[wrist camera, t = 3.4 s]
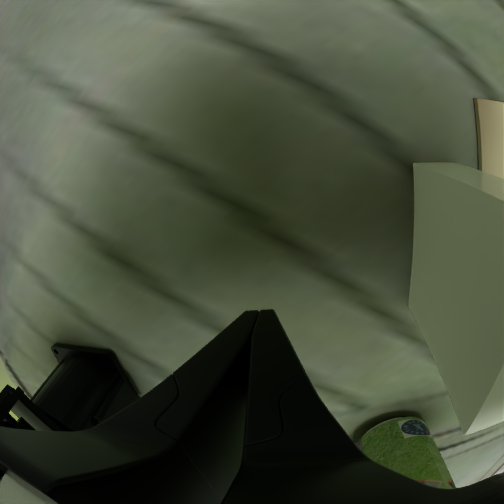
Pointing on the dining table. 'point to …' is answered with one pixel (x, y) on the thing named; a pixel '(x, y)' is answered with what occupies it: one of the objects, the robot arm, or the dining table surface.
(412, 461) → the beverage can
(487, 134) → the mat
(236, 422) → the robot arm
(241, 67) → the dining table surface
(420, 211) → the tile
